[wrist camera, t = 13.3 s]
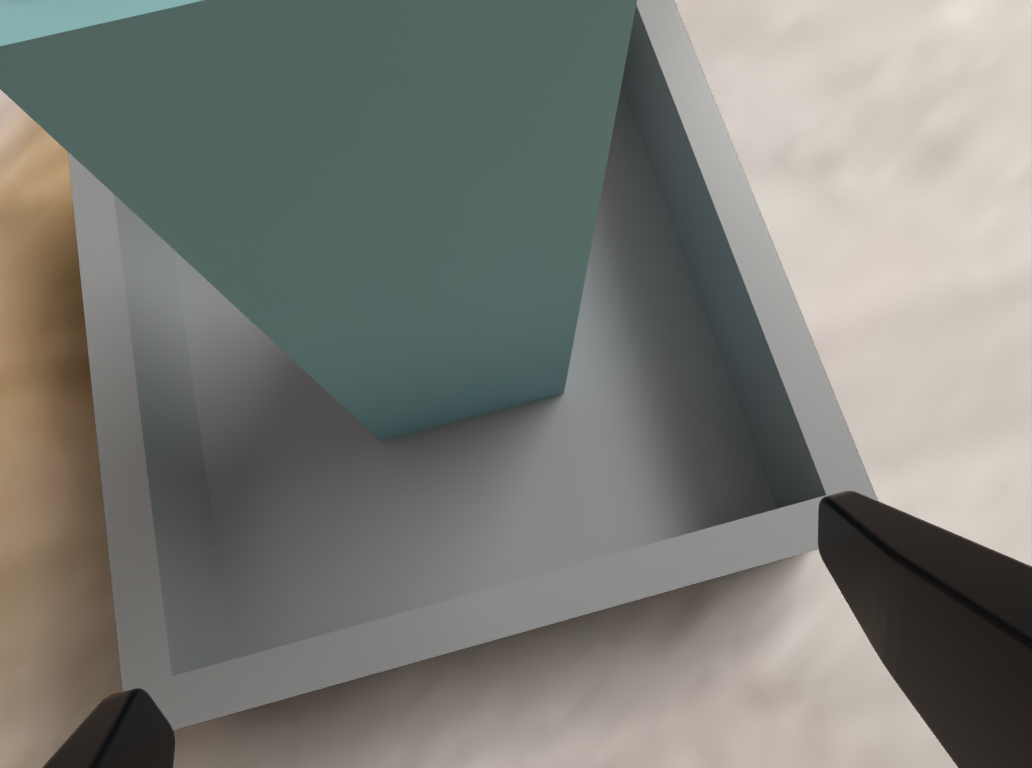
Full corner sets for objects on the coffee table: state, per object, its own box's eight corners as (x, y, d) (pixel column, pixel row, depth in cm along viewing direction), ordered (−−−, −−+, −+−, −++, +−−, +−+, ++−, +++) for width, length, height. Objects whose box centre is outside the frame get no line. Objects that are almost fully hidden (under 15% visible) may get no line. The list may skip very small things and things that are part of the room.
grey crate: (216, 707, 18) (127, 742, 14) (143, 170, 22) (60, 82, 18) (813, 539, 18) (889, 528, 14) (631, 54, 23) (652, -54, 19)
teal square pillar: (563, 393, 19) (661, -128, 5) (381, 441, 18) (-61, 32, 5) (515, 231, 20) (485, -540, 6) (344, 273, 20) (-82, -433, 6)
